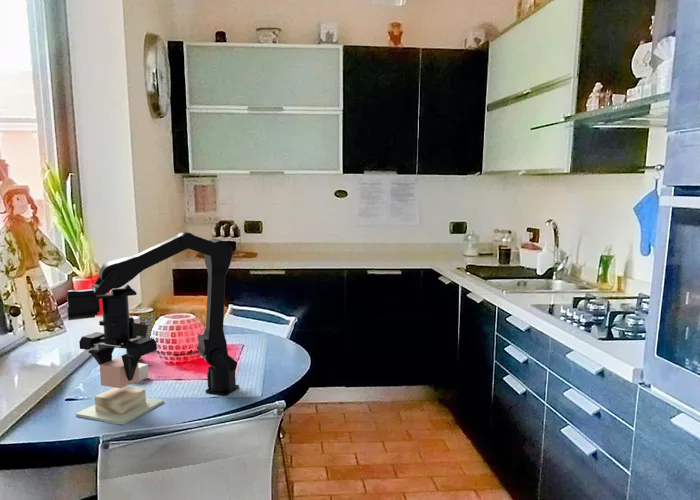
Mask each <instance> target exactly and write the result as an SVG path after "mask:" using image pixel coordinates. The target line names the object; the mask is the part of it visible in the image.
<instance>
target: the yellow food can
mask: <svg viewBox="0 0 700 500" xmlns="http://www.w3.org/2000/svg"><path fill="white" fill-rule="evenodd" d="M130 316H138V317H139V318H140V324H145V325H148V330H147V335H146V338H150V336H151V331H152V328H153V326H154V324H155V322H156V309H155V308H154V307H152V306H151V307H150V306H149V307H148V306H145V307H144V306H141V307H133V308H129V317H130ZM140 338H142V336H140ZM143 338H145V337H143Z"/></svg>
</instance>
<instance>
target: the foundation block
mask: <svg viewBox="0 0 700 500" xmlns="http://www.w3.org/2000/svg"><path fill="white" fill-rule="evenodd" d="M146 397H147V395H146V388H141V387H135V386H128V385H127V386H125V387H123V388H115V387H111V388H110V389H107V390H105V391H104V392H101V393H99V394H97V395H95V396H94V405H95V410H96V411H101V412H106V413H112V414H118V415H124V414H126V413H127V412H129V411H131V410H133V409H135V408H137V407H139V406H141V405H143V404H145V403H146Z"/></svg>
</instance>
